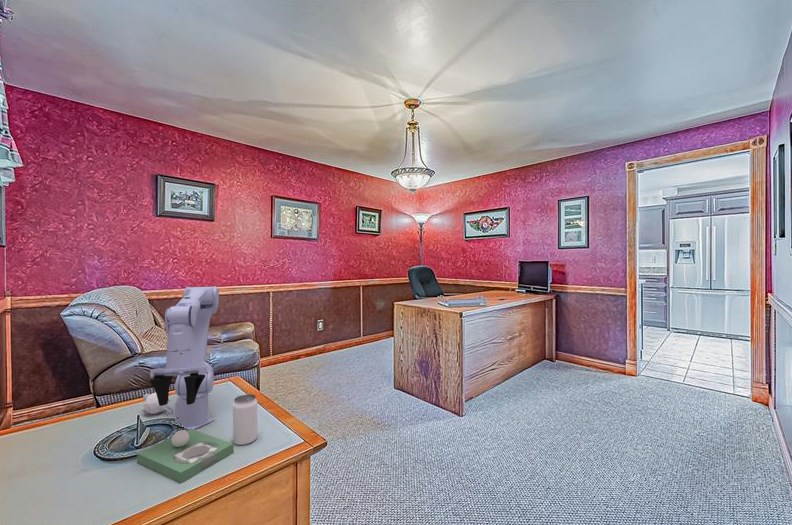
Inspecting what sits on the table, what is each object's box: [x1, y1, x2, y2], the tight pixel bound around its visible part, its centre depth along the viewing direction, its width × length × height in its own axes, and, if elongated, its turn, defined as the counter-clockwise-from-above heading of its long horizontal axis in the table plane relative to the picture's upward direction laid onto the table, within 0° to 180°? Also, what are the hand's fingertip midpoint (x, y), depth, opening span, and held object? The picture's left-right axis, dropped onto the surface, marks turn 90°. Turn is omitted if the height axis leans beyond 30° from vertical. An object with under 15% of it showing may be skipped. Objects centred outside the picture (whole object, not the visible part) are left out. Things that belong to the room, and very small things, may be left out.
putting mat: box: [136, 429, 235, 484], centre depth 90 cm, size 18×14×2 cm
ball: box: [171, 429, 189, 447], centre depth 91 cm, size 4×4×4 cm
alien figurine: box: [142, 392, 175, 416], centre depth 116 cm, size 7×7×12 cm
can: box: [232, 393, 259, 446], centre depth 99 cm, size 6×6×12 cm
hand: (176, 404), depth 90 cm, fingers open, 7 cm apart
